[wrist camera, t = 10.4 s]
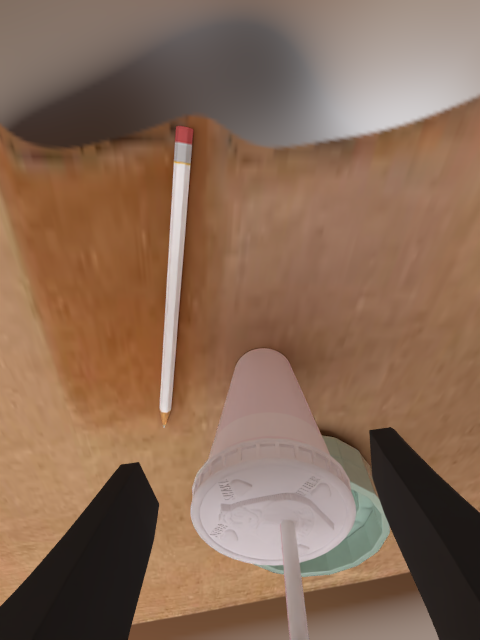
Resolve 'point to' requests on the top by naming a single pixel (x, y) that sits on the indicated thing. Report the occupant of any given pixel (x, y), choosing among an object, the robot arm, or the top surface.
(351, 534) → the lid
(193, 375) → the top surface
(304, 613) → the smoothie
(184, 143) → the pencil
